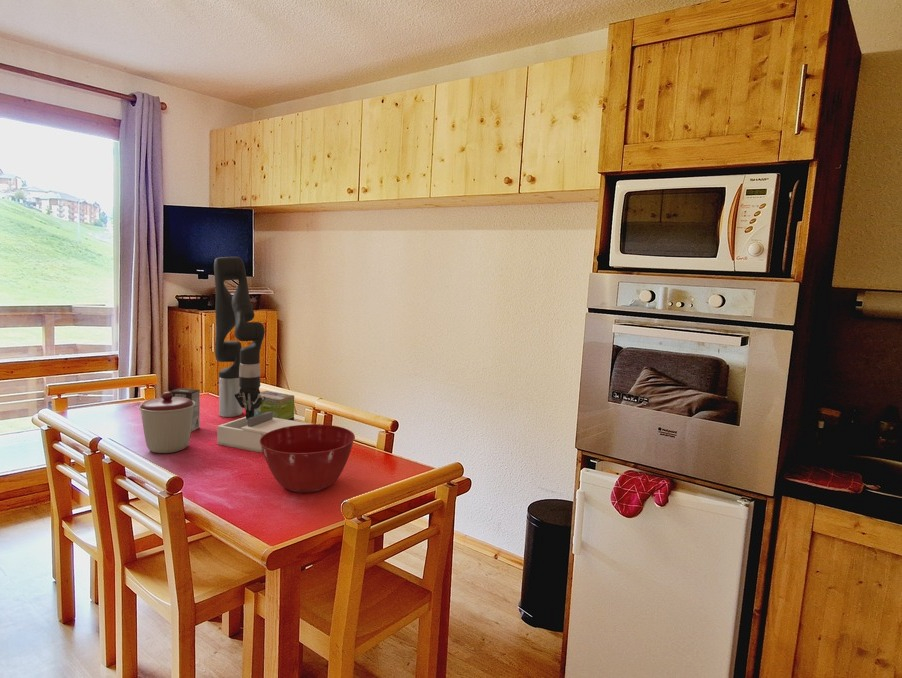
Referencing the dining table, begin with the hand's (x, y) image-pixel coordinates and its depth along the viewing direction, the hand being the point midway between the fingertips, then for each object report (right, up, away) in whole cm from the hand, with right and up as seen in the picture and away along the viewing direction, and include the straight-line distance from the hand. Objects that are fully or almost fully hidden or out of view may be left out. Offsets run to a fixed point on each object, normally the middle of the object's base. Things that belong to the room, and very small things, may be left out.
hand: (249, 419), depth 208 cm
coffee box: (-31, -6, +13) cm, 34 cm away
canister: (-25, -9, -11) cm, 29 cm away
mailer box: (+2, -9, 0) cm, 9 cm away
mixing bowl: (+32, -15, -38) cm, 52 cm away
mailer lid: (+13, -3, -5) cm, 14 cm away
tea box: (+3, -7, +17) cm, 19 cm away
